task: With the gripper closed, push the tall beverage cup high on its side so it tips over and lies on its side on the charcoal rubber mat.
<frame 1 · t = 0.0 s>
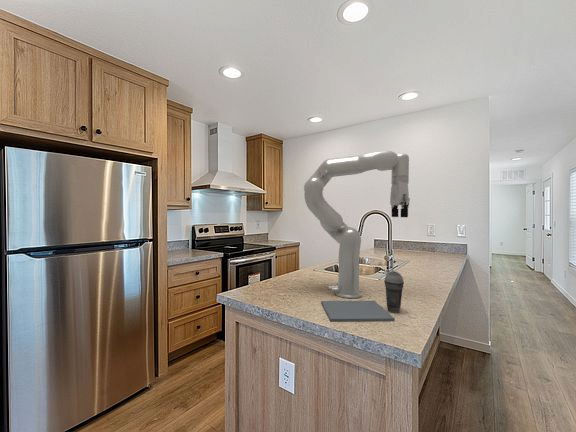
hand: (399, 217, 130), 37 cm above the worktop, tool pointing down, fingers open, 9 cm apart
rubber mat: (354, 311, 108), on the worktop
beverage cup: (393, 311, 108), on the worktop
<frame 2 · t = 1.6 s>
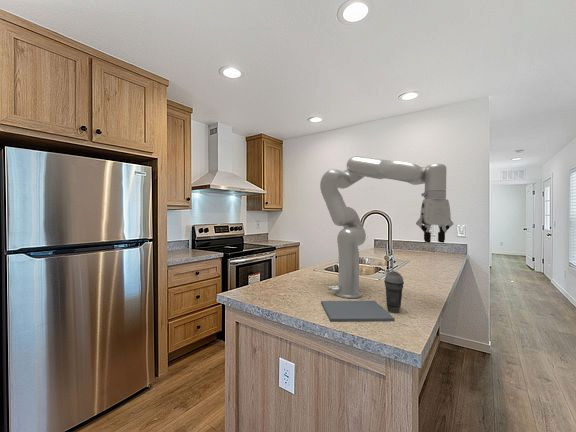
hand: (434, 241, 109), 27 cm above the worktop, tool pointing down, fingers open, 4 cm apart
nothing on the worktop moved.
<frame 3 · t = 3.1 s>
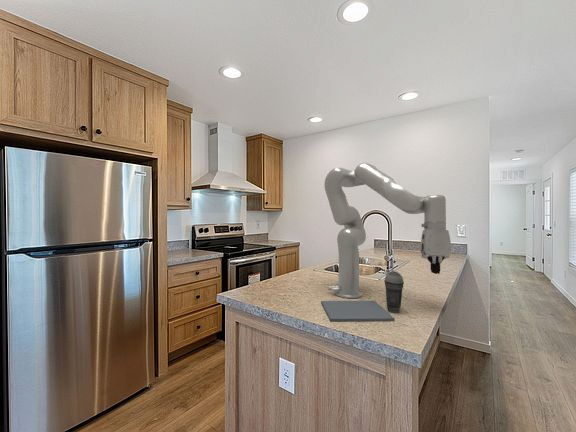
hand: (435, 273, 108), 15 cm above the worktop, tool pointing down, fingers closed
nothing on the worktop moved.
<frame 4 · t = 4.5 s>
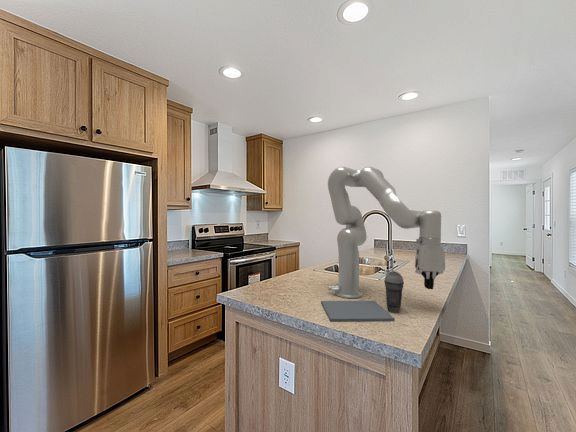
hand: (428, 288, 109), 9 cm above the worktop, tool pointing down, fingers closed
nothing on the worktop moved.
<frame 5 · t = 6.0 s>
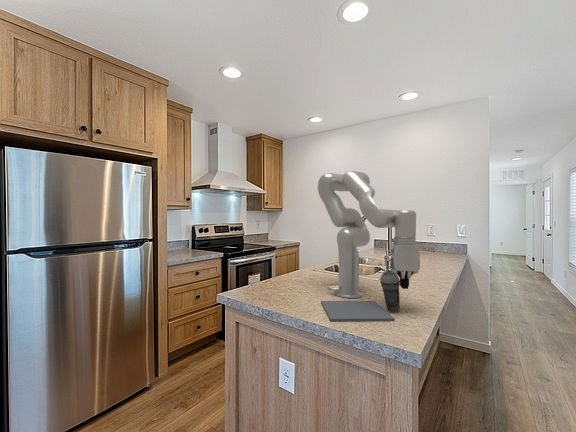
hand: (404, 287, 108), 9 cm above the worktop, tool pointing down, fingers closed
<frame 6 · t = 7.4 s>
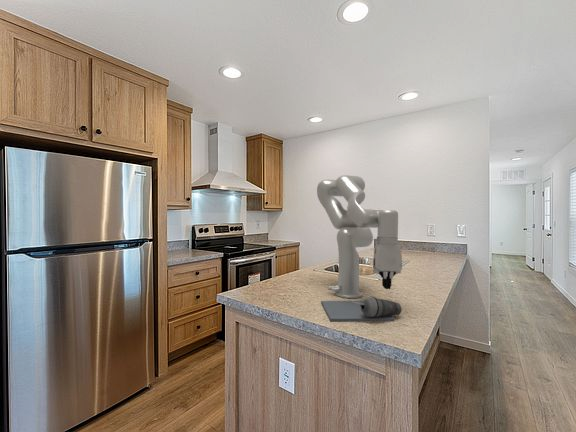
hand: (386, 288, 108), 9 cm above the worktop, tool pointing down, fingers closed
beverage cup: (397, 308, 103), point 3 cm above the worktop, touching rubber mat
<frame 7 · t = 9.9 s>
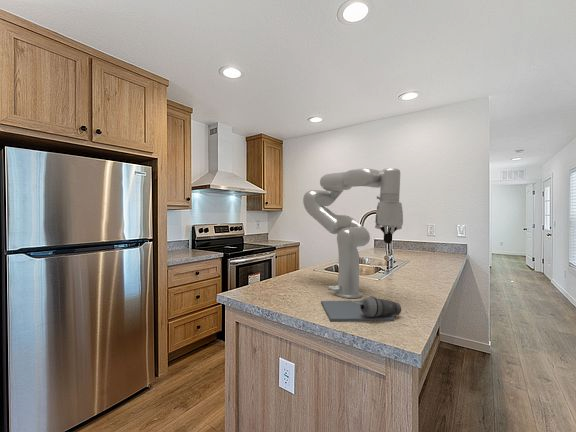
hand: (387, 243, 114), 26 cm above the worktop, tool pointing down, fingers closed
nothing on the worktop moved.
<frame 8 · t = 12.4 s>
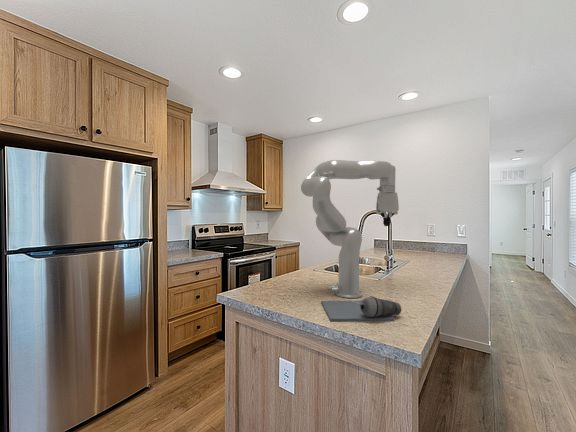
hand: (386, 225, 140), 32 cm above the worktop, tool pointing down, fingers closed
nothing on the worktop moved.
at the end: beverage cup tilted 80°; beverage cup inside the target area (6.2 cm from its centre), point 2.7 cm above the worktop; beverage cup touching rubber mat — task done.
